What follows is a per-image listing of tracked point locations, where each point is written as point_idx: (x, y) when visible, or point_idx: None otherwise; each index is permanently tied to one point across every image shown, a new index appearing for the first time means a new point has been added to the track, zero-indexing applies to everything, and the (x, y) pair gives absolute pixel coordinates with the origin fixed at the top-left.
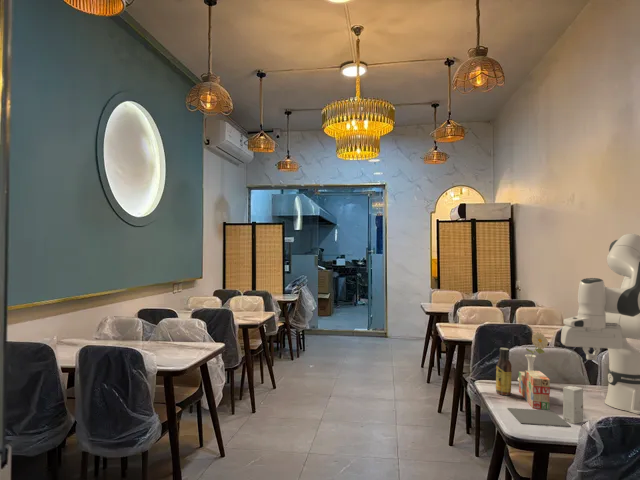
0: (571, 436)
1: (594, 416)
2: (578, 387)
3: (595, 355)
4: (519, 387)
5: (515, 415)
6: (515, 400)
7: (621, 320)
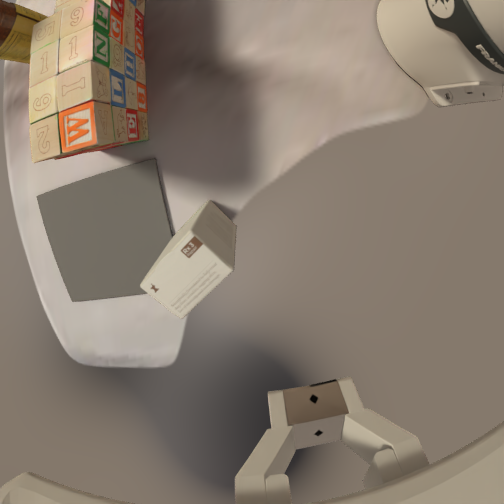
0: (176, 343)
1: (295, 154)
2: (214, 262)
3: (344, 438)
4: None
5: (56, 255)
6: None
7: None
